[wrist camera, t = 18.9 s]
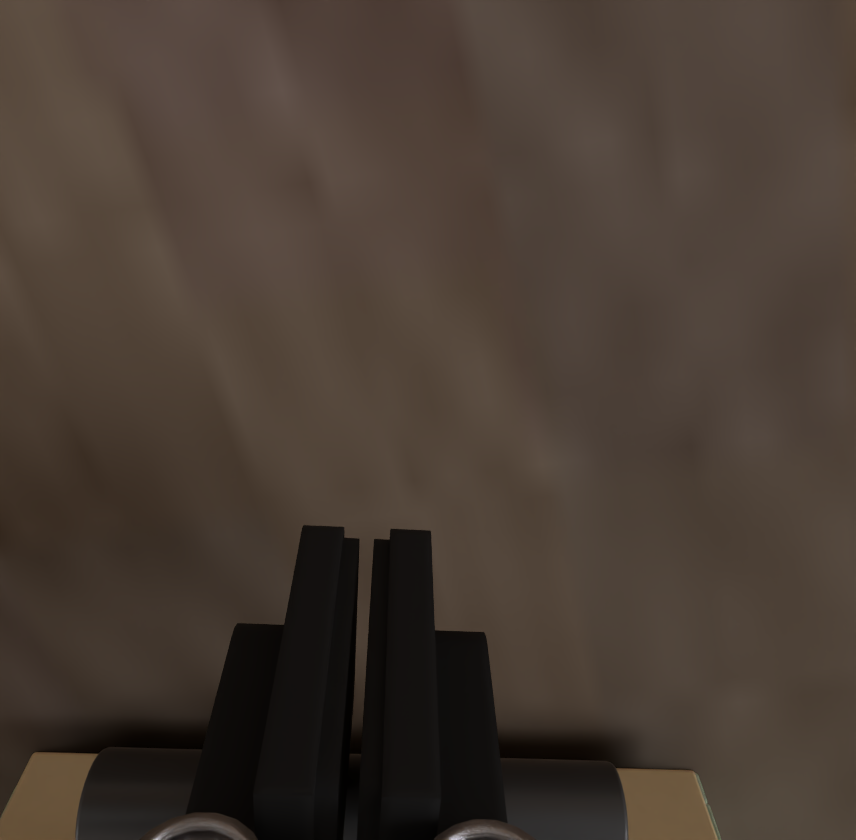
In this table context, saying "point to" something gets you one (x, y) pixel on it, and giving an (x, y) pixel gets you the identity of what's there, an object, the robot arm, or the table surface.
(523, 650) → the table surface
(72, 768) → the drawer
